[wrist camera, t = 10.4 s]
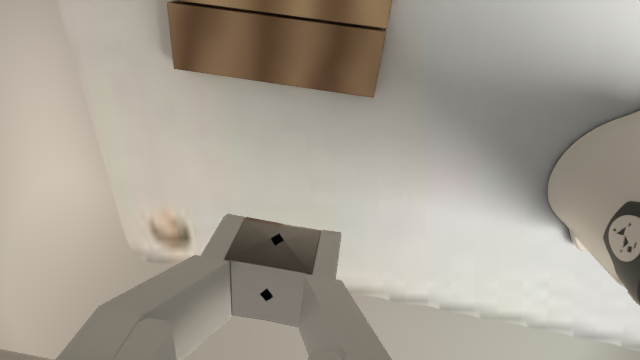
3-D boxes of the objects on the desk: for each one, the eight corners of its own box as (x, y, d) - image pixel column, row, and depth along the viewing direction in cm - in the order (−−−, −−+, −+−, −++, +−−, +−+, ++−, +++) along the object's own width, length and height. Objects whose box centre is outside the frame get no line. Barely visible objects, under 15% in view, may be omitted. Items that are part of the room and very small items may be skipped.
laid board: (385, 29, 33) (385, 32, 32) (373, 92, 37) (373, 97, 35) (175, 0, 35) (167, 2, 33) (181, 64, 38) (174, 68, 36)
